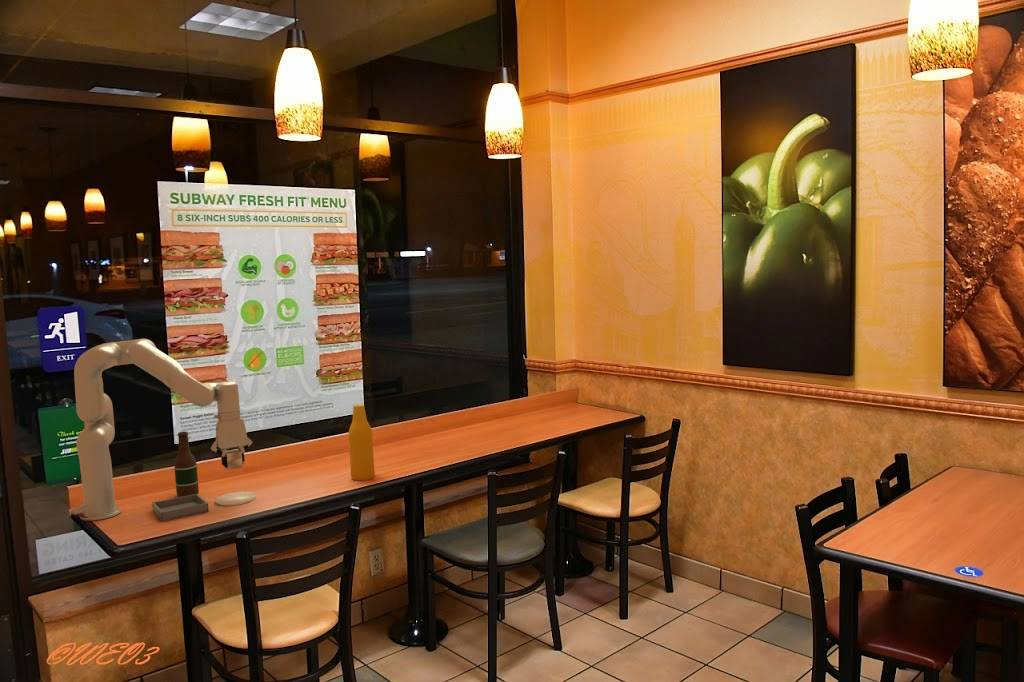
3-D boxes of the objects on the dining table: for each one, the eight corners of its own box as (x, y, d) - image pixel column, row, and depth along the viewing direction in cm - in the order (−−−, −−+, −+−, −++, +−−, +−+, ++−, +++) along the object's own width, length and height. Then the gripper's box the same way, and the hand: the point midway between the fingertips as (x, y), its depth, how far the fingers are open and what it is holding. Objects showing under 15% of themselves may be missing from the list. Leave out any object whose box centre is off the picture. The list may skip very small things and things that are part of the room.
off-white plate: (221, 508, 272) (220, 505, 272) (210, 499, 283) (210, 496, 283) (260, 500, 280) (260, 497, 280) (249, 491, 291) (249, 489, 291)
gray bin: (161, 521, 260) (161, 512, 260) (152, 510, 272) (151, 502, 272) (208, 511, 269) (207, 503, 268) (197, 501, 281) (197, 493, 281)
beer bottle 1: (175, 498, 286) (170, 435, 284) (178, 493, 293) (172, 431, 291) (197, 496, 288) (192, 433, 286) (200, 490, 296) (195, 429, 293)
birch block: (228, 470, 277) (227, 453, 276) (224, 467, 281) (223, 451, 280) (242, 467, 280) (241, 451, 279) (238, 464, 284) (237, 448, 283)
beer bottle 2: (369, 481, 300) (365, 407, 297) (347, 480, 301) (342, 407, 299) (378, 474, 309) (374, 403, 306) (356, 474, 310) (352, 403, 308)
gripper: (207, 421, 271) (211, 471, 272) (256, 413, 280) (260, 462, 282) (202, 418, 277) (206, 467, 278) (250, 411, 286) (253, 459, 288)
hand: (233, 464), depth 280 cm, fingers closed on birch block, 5 cm apart
